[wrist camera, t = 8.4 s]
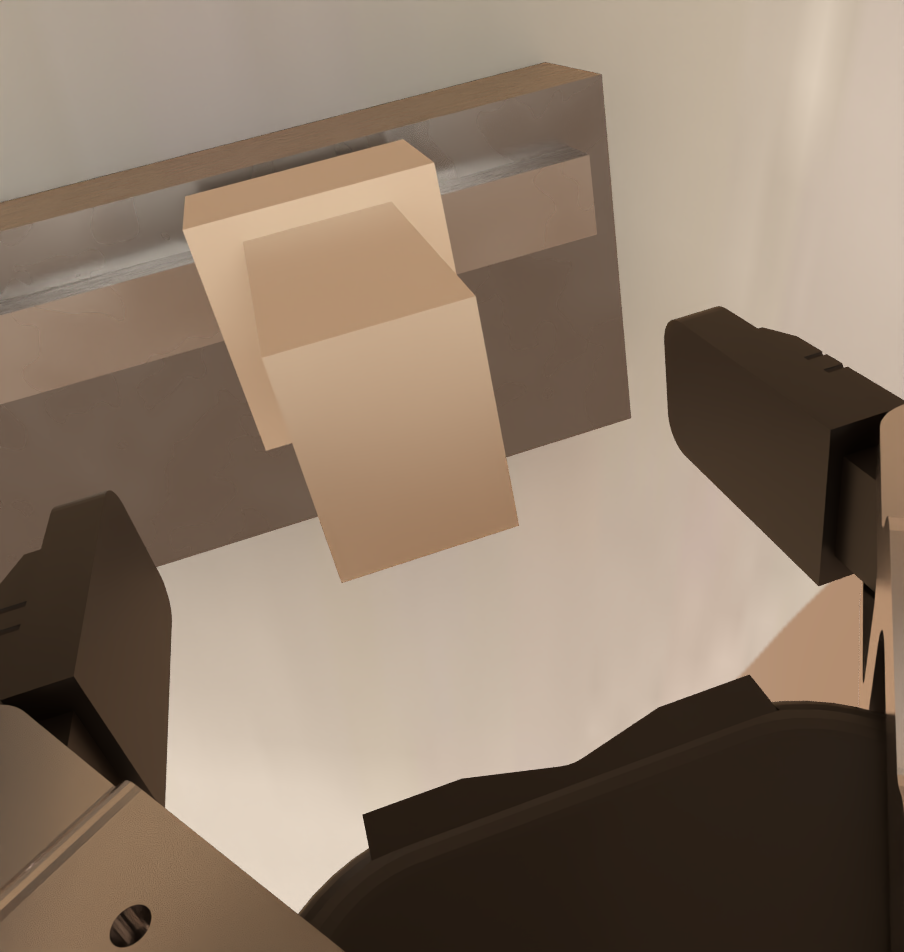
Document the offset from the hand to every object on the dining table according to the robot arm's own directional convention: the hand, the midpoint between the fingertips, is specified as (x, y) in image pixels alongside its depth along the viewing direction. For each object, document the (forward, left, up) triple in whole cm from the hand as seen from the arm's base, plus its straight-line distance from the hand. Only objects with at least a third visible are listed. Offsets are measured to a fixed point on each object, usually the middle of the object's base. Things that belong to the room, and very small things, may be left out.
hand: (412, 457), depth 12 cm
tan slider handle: (+2, 0, -10) cm, 11 cm away
